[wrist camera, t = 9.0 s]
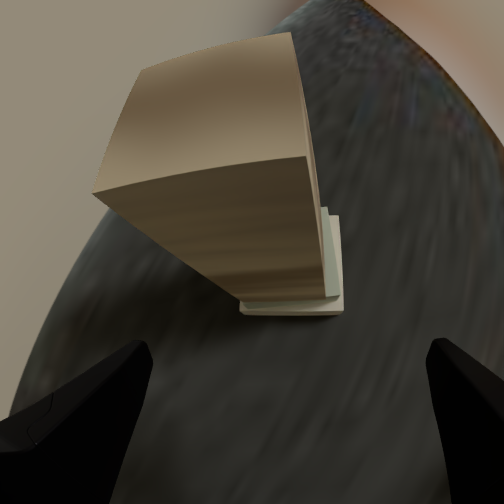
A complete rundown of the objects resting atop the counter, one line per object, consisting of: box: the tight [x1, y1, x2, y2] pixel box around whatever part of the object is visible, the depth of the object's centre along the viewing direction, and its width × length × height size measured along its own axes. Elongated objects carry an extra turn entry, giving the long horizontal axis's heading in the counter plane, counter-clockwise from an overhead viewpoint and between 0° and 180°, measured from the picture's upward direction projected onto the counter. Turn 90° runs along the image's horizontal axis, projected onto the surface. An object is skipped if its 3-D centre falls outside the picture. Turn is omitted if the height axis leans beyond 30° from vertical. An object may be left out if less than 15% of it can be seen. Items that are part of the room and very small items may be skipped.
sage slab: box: [243, 207, 341, 309], centre depth 20 cm, size 6×6×2 cm
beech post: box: [92, 32, 326, 302], centre depth 12 cm, size 5×5×13 cm
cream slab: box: [240, 216, 344, 315], centre depth 22 cm, size 7×7×2 cm
